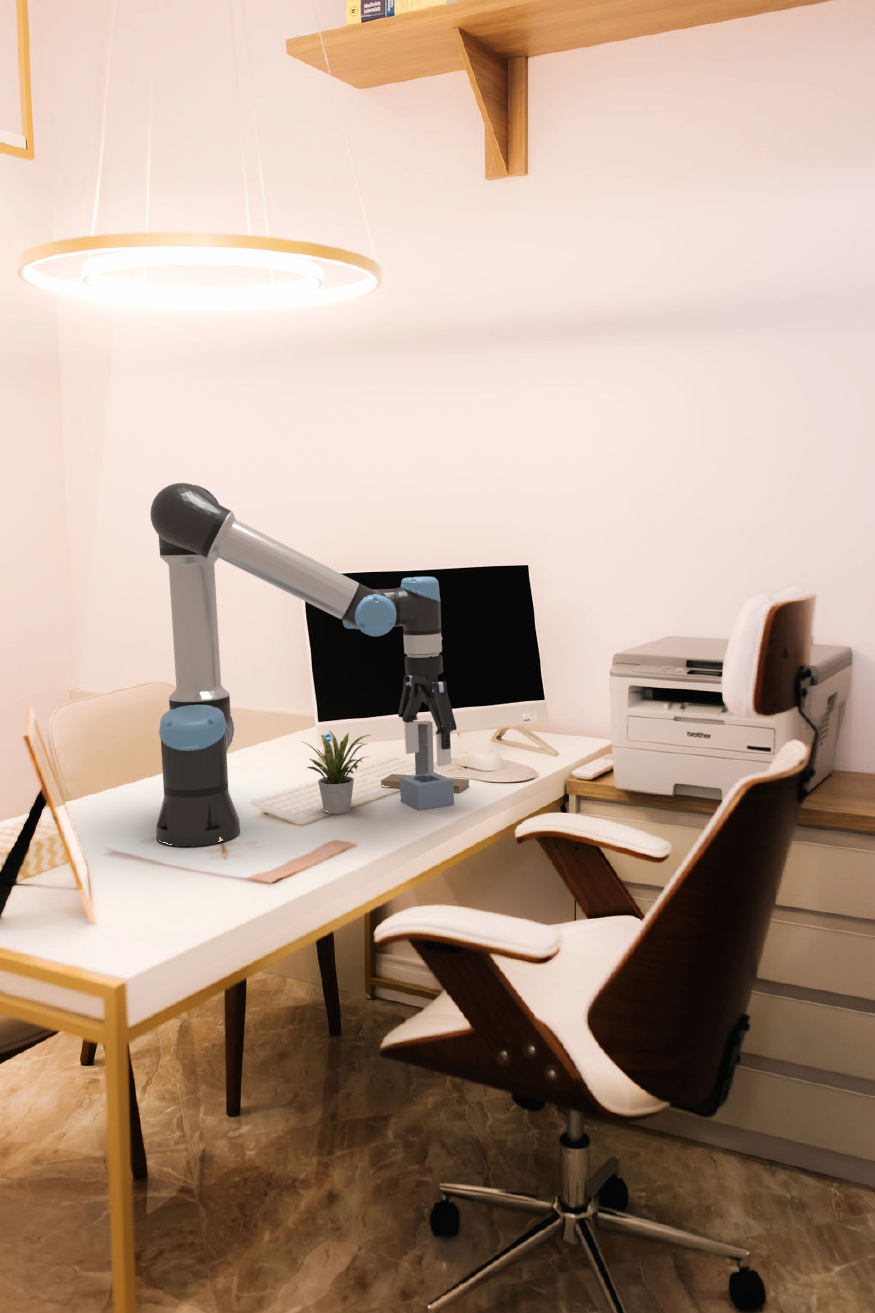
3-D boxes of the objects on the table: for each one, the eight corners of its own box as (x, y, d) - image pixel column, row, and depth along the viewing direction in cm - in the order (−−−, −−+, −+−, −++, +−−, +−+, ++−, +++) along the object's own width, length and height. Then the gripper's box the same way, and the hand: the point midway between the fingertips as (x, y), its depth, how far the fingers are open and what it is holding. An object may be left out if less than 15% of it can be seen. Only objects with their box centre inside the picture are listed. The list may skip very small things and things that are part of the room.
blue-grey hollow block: (454, 804, 210) (453, 780, 210) (418, 810, 207) (418, 785, 206) (434, 795, 217) (434, 772, 217) (400, 801, 214) (400, 777, 213)
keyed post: (459, 793, 219) (458, 727, 217) (381, 787, 226) (379, 723, 224) (468, 786, 225) (467, 722, 223) (392, 780, 231) (390, 718, 229)
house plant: (393, 807, 210) (391, 727, 207) (349, 824, 198) (347, 740, 196) (338, 798, 218) (335, 720, 215) (293, 814, 206) (290, 733, 204)
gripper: (471, 658, 199) (475, 767, 202) (411, 647, 221) (415, 745, 224) (437, 662, 196) (441, 773, 198) (379, 650, 217) (384, 750, 220)
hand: (427, 758), depth 211 cm, fingers open, 13 cm apart
